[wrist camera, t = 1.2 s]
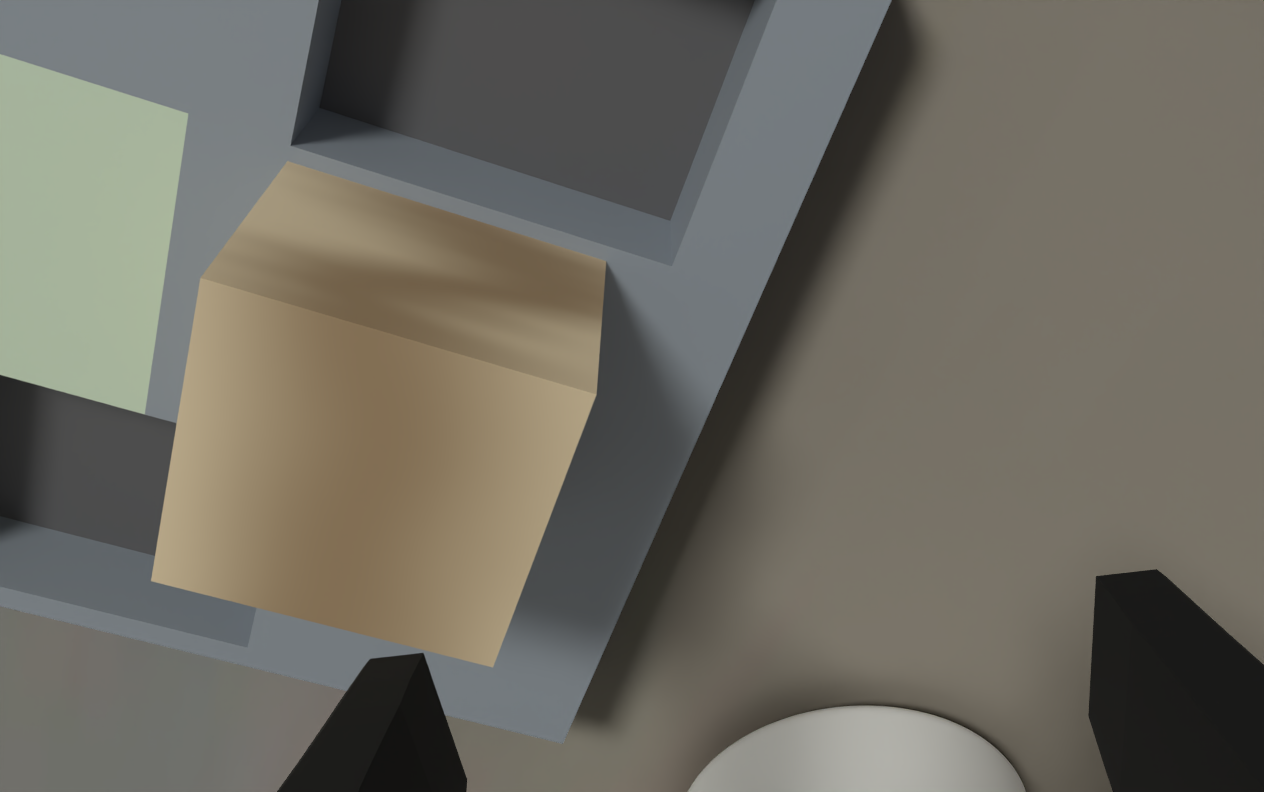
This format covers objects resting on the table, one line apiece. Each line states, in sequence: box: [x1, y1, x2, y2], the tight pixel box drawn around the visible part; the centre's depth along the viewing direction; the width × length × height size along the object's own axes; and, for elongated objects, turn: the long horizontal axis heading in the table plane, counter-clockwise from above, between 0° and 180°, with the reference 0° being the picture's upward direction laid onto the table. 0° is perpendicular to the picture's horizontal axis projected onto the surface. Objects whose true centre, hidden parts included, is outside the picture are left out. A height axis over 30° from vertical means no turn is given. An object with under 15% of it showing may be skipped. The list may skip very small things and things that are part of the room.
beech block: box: [151, 161, 606, 667], centre depth 18 cm, size 5×5×4 cm
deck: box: [0, 0, 892, 744], centre depth 19 cm, size 15×16×4 cm
